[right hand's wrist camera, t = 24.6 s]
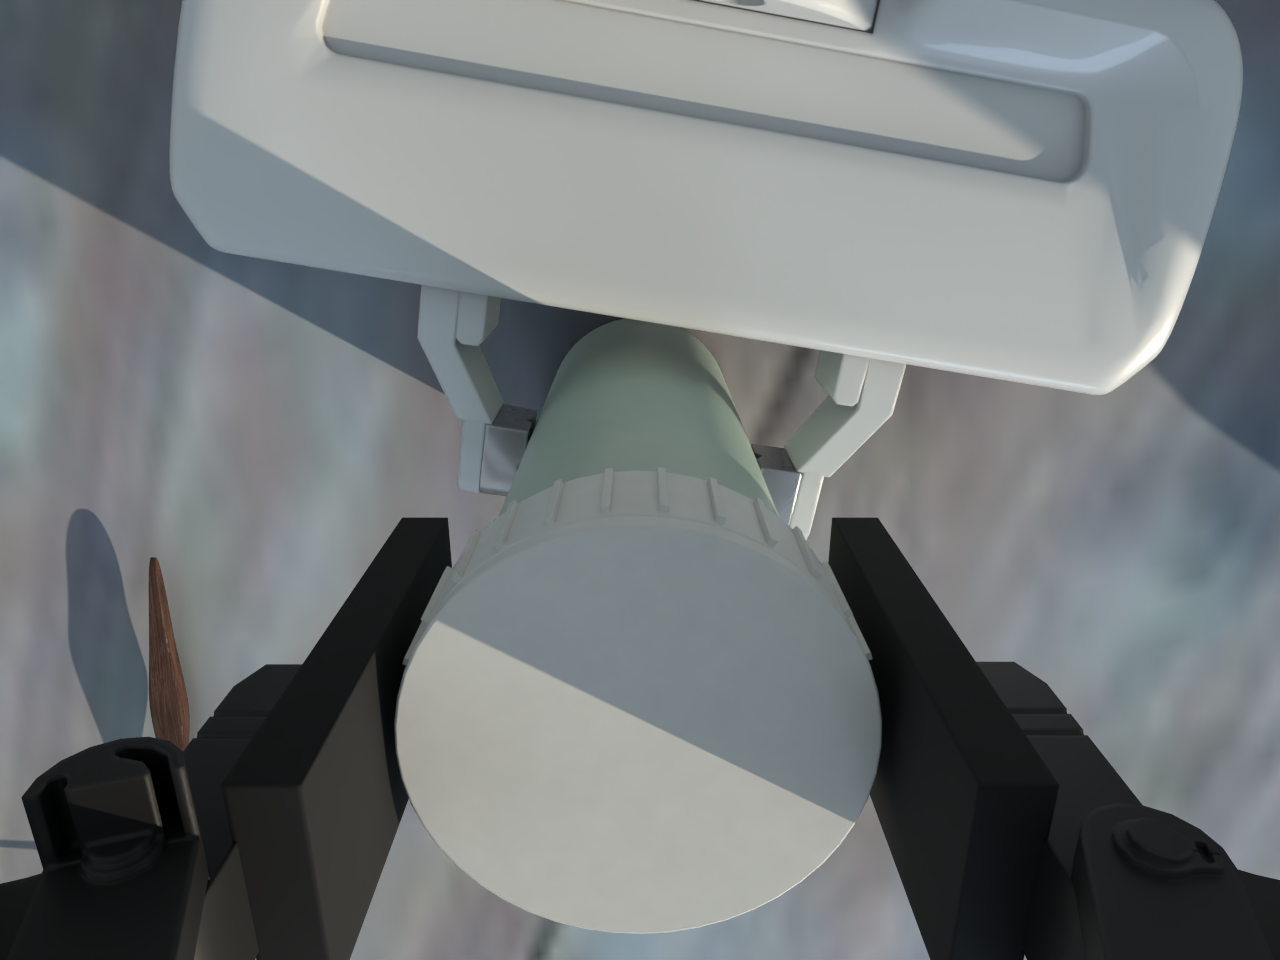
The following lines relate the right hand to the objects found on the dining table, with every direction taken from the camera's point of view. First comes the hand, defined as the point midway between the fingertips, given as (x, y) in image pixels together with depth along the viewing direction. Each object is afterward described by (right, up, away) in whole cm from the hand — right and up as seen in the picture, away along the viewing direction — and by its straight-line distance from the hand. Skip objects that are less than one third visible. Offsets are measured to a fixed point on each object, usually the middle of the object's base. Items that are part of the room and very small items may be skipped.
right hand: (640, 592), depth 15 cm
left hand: (0, +1, +6) cm, 6 cm away
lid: (0, -1, -4) cm, 4 cm away
